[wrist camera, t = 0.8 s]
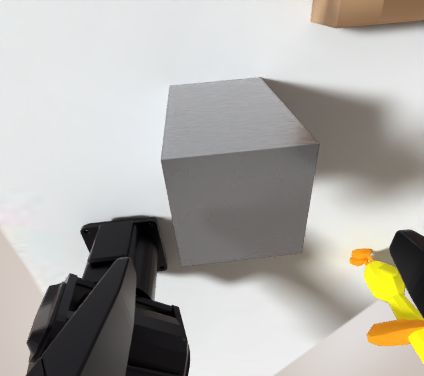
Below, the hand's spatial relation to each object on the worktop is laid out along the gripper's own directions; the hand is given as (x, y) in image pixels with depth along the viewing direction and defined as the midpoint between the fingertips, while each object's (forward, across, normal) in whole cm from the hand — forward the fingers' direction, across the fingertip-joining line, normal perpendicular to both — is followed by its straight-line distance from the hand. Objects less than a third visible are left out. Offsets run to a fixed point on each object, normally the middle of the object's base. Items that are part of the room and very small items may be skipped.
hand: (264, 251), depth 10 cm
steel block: (+13, 0, +1) cm, 13 cm away
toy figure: (+13, -14, +17) cm, 25 cm away
